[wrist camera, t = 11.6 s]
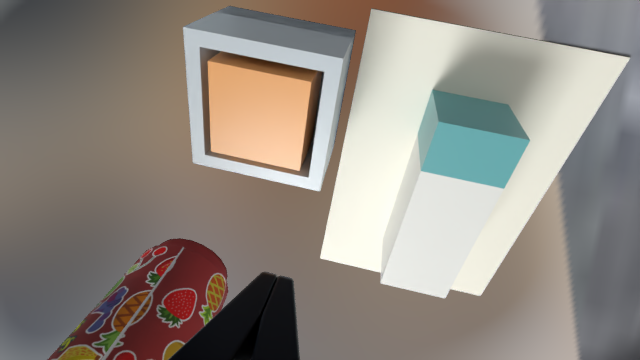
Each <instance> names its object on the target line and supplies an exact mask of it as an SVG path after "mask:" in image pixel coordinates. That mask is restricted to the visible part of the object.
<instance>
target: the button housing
mask: <svg viewBox="0 0 640 360" xmlns="http://www.w3.org/2000/svg"><path fill="white" fill-rule="evenodd" d="M355 32H356V30H351V29H346V28H341V27H336V26H330V25H325V24H320V23H315V22H310V21H305V20H299V19H294V18H289V17H283V16H279V15H273V14H268V13H263V12H258V11H252V10H248V9H243V8H237V7H232V6H228V7H226V8H224V9H221V10H219V11H217V12H215V13H213V14H210V15H208V16H206V17H204V18H202V19H199V20H197V21H195V22H193V23H191V24H188V25H186V26H184V27H183V33H184V48H185V62H186V75H187V89H188V102H189V116H190V130H191V144H192V158H193V163H195V164H200V165H204V166H209V167H213V168H217V169H222V170H226V171H231V172H235V173H240V174H244V175H249V176H253V177H258V178H263V179H267V180H271V181H276V182H280V183H285V184H289V185H293V186H298V187H302V188H307V189H311V190H316V191H320V190H321V186H322V183H323V180H324V176H325V173H326V170H327V167H328V163H329V160H330V157H331V153H332V150H333V147H334V143H335V138H336V133H337V127H338V122H339V116H340V111H341V106H342V101H343V96H344V90H345V85H346V79H347V74H348V69H349V64H350V59H351V53H352V47H353V42H354V37H355ZM221 51H223V52H228V53H233V54H238V55H243V56H248V57H253V58H258V59H263V60H268V61H273V62H278V63H283V64H288V65H293V66H298V67H303V68H308V69H313V70H318V71H322V78H321V85H320V91H319V98H318V105H317V112H316V119H315V125H314V132H313V139H312V142H311V145H310V147H309V150H308V152H307V155H306V157H305V159H304V162H303V164H302V167H301V169H300V171H297V170H293V169H288V168H284V167H279V166H275V165H270V164H266V163H261V162H257V161H252V160H247V159H243V158H238V157H234V156H229V155H225V154H220V153H216V152H211V138H210V111H209V84H208V60H210V59H211V58H213V57H214V56H216V55H217V54H219V53H220V52H221Z"/></svg>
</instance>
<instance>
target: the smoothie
mask: <svg viewBox="0 0 640 360" xmlns="http://www.w3.org/2000/svg"><path fill="white" fill-rule="evenodd" d="M226 279H227V270H226V267H225V265H224V264H223V262H222V260H221V259H220V258H219V257H218V256H217V255H216V254H215V253H214V252H213V251H212V250H210V249H208V248H207V247H205V246H204V245H202V244H199V243H197V242H194V241H191V240H186V239H170V240H167V241H165V242H163V243H162V244H160V245H159V246H155V247H152V248H150V249H148V250H146V251H145V253H144V254H143V255H142V256H141V257H140V258H139V259H138V260H137V261H136V263H135V264H134V265H133V266H132V267H131V268H130V269H129V270H128V271H127V273H126V274H125V275H124V276H123V277H122V278H121V279H120V280H119V282H117V284H116V285H115V286H114V287H113V288H112V289H111V290H110V291H109V292H108V294H107V295H106V296H105V297H104V298H103V299H102V300H101V301H100V302H99V303H98V305H97V306H96V307H95V308H94V309H93V310H92V311H91V313H89V314H88V316H87V317H86V318H85V319H84V320H83V321H82V322H81V323H80V324H79V326H78V327H77V328H76V329H75V330H74V331H73V332H72V334H71V335H69V337H68V338H67V339H66V340H65V341H64V342H63V343H62V344H61V345H60V347H59V348H58V349H57V350H56V351H55V352H54V353H53V354H52V355H51V356H50V358H49V359H48V360H168V359H169V358H170V357H171V356H172V355H174V354H175V353H176V352H177V351H178V350H179V349H180V348H181V347H182V346H183V345H184V344H185V343H186V342H188V341H189V340H190V339H191V338H192V337H193V336H194V335H195V334H196V333H197V332H198V331H199V330H200V329H201V328H203V327H204V326H205V325H206V324H207V323H208V322H209V321H210V320H211V319H212V318H213V317H214V316H215V315H217V314H218V313H219V312H220V311H221V309H222V307H223V304H224V301H225V299H226V296H227V293H228V287H227V281H226Z"/></svg>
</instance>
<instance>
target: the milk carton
mask: <svg viewBox="0 0 640 360" xmlns="http://www.w3.org/2000/svg"><path fill="white" fill-rule="evenodd" d="M529 142H530V139H529V137H528V136H527V134H526V133H525V131H524V129H523V128H522V126H521V124H520V123H519V121H518V120H517V118H516V116H515V115H514V113H513V111H512V110H511V108H510V107H509V105H508V104H503V103H498V102H493V101H488V100H483V99H478V98H472V97H467V96H462V95H457V94H452V93H447V92H442V91H437V90H432V92H431V95H430V98H429V101H428V104H427V107H426V110H425V113H424V116H423V119H422V122H421V125H420V128H419V131H418V134H417V137H416V140H415V143H414V146H413V149H412V152H411V155H410V158H409V161H408V164H407V167H406V170H405V173H404V176H403V179H402V182H401V185H400V188H399V191H398V194H397V197H396V200H395V203H394V206H393V209H392V212H391V215H390V218H389V221H388V225H387V228H386V231H385V234H384V237H383V244H382V262H381V280H380V283H382V284H386V285H390V286H395V287H399V288H403V289H408V290H412V291H416V292H420V293H424V294H429V295H433V296H437V297H441V298H445V297H446V296H447V294H448V292H449V290H450V288H451V286H452V285H453V283H454V281H455V279H456V277H457V275H458V273H459V272H460V270H461V268H462V266H463V264H464V262H465V260H466V259H467V257H468V255H469V253H470V251H471V249H472V247H473V246H474V244H475V242H476V240H477V238H478V236H479V235H480V233H481V231H482V229H483V227H484V225H485V223H486V222H487V220H488V218H489V216H490V214H491V212H492V210H493V209H494V207H495V205H496V203H497V201H498V199H499V197H500V196H501V194H502V192H503V190H504V188H505V186H506V184H507V183H508V181H509V179H510V177H511V175H512V173H513V171H514V170H515V168H516V166H517V164H518V162H519V160H520V159H521V157H522V155H523V153H524V151H525V149H526V147H527V146H528V144H529Z"/></svg>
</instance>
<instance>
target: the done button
mask: <svg viewBox="0 0 640 360" xmlns="http://www.w3.org/2000/svg"><path fill="white" fill-rule="evenodd" d="M321 78H322V71H318V70H313V69H308V68H303V67H298V66H293V65H288V64H283V63H278V62H273V61H268V60H263V59H258V58H253V57H248V56H243V55H238V54H233V53H228V52H223V51H221V52H220V53H219V54H217V55H216V56H214V57H213V58H211V59H210V60H208V84H209V111H210V138H211V152H216V153H220V154H225V155H229V156H234V157H238V158H243V159H247V160H252V161H257V162H261V163H266V164H270V165H275V166H279V167H284V168H288V169H293V170H297V171H300V169H301V167H302V164H303V162H304V159H305V157H306V155H307V152H308V150H309V147H310V145H311V142H312V139H313V132H314V125H315V119H316V112H317V105H318V98H319V91H320V85H321Z"/></svg>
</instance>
